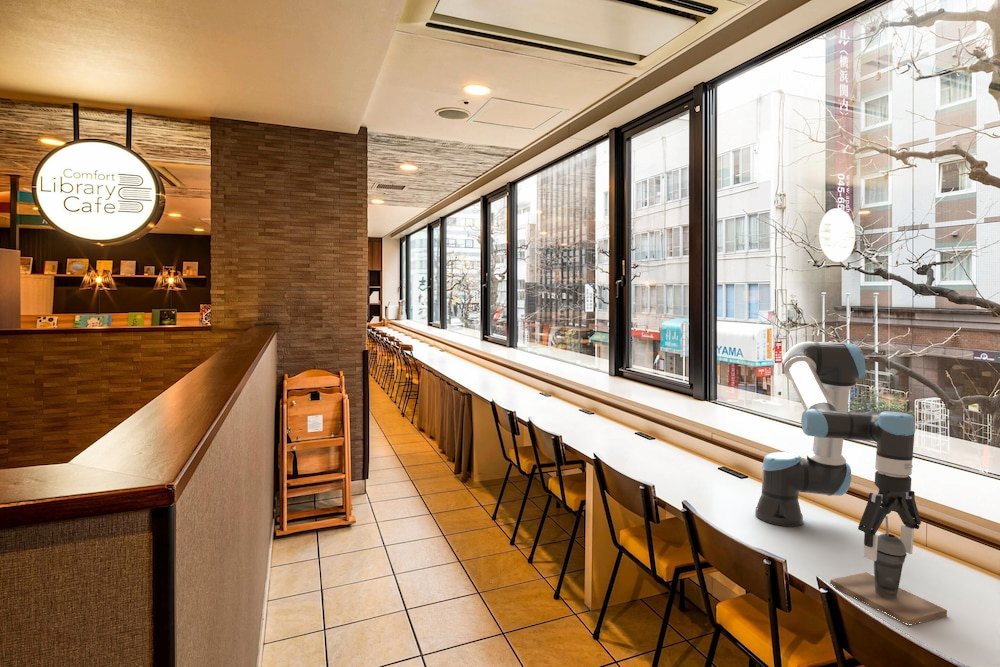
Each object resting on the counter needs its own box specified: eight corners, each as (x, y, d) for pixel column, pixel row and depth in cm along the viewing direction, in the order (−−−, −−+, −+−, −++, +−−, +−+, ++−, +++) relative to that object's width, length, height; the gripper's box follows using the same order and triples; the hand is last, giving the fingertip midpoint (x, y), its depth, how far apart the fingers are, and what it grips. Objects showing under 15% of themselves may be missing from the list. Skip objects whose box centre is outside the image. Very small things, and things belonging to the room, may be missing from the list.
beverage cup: (891, 604, 135) (897, 525, 133) (862, 589, 141) (867, 514, 140) (909, 598, 138) (915, 521, 136) (879, 584, 144) (885, 510, 143)
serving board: (830, 585, 146) (830, 579, 146) (866, 577, 151) (866, 572, 151) (908, 626, 128) (908, 620, 128) (946, 616, 133) (947, 610, 133)
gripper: (874, 481, 130) (869, 568, 131) (941, 473, 139) (935, 555, 140) (844, 472, 137) (840, 555, 138) (910, 465, 146) (905, 543, 147)
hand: (888, 555), depth 139 cm, fingers open, 13 cm apart
